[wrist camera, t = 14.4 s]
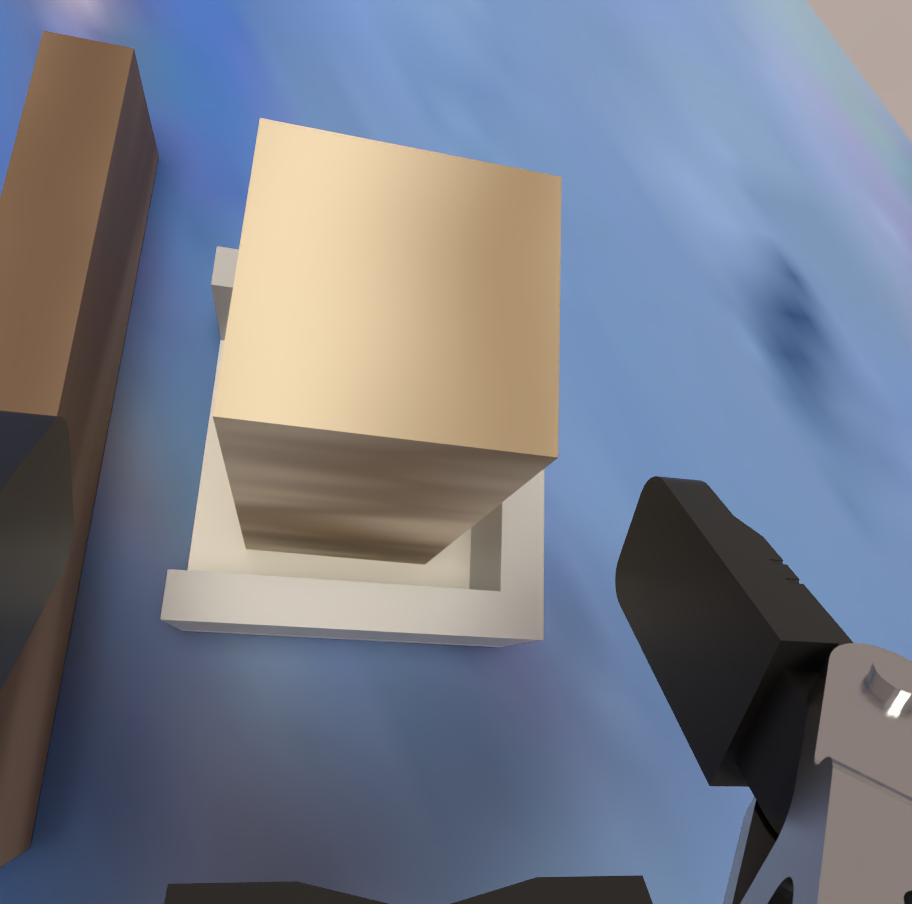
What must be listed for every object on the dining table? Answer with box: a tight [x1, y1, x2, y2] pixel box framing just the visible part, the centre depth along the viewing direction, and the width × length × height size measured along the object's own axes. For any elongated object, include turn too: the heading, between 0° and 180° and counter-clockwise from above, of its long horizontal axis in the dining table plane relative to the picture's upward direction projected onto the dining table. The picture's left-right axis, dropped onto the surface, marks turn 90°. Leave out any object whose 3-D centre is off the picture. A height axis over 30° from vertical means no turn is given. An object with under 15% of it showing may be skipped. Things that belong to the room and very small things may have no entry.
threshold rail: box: [0, 31, 159, 868], centre depth 17 cm, size 2×18×4 cm, turn 177°
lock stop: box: [213, 118, 561, 565], centre depth 15 cm, size 4×4×10 cm
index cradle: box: [160, 246, 544, 647], centre depth 19 cm, size 8×8×4 cm
